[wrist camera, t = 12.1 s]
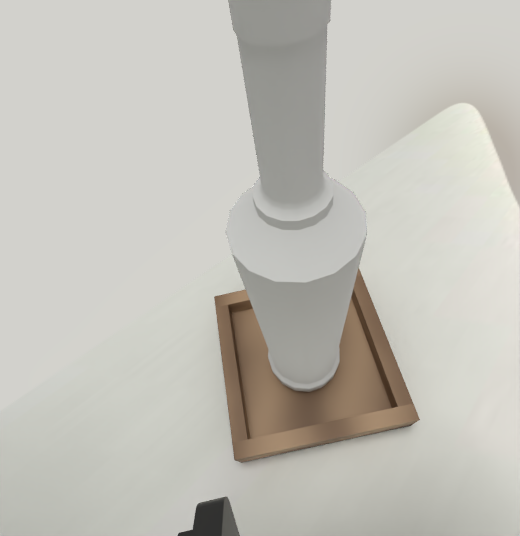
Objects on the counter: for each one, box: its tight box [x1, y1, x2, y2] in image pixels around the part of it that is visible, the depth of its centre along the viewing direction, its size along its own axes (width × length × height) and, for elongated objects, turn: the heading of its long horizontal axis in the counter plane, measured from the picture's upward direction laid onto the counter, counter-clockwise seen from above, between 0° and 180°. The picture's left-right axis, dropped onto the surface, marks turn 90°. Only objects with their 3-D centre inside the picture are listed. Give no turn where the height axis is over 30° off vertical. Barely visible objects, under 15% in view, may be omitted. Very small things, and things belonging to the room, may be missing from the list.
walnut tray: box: [214, 268, 420, 462], centre depth 27 cm, size 12×12×2 cm
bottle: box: [226, 0, 367, 392], centre depth 16 cm, size 5×5×25 cm
